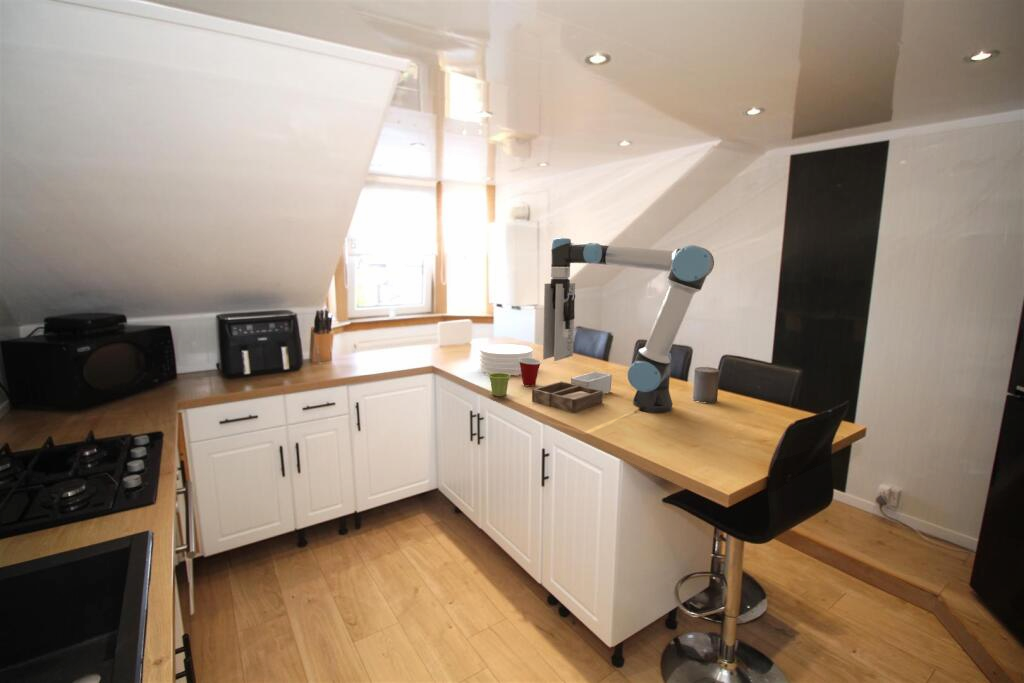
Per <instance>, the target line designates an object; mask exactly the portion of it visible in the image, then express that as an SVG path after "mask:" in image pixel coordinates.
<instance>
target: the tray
mask: <svg viewBox="0 0 1024 683" xmlns="http://www.w3.org/2000/svg"><path fill="white" fill-rule="evenodd" d="M579 391H583V392H586V393H590V394H588V395H585V396H582V397H579V398H576V399H571V398H567V397H564V396H561V395H566V394H570V393H575V392H579ZM603 394H604V393H603V391H601V390H597V389H592V388H588V387H584V386H580V385H575V384H571V382H566V381H562V380H560V381H558V382H554V383H550V384H547V385H544V386H540V387H539V386H538V387H536V388H532V391H531V397H532V398H531V402H533V403H537V404H540V405H542V406H548V407H551V408H554V409H558V410H560V411H565V412H567V413H568V412H569V413H572V414H576V413H579V412H581V411H584V410H586V409H589V408H593V407H595V406H597V405H600V404H602V403H603Z"/></svg>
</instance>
